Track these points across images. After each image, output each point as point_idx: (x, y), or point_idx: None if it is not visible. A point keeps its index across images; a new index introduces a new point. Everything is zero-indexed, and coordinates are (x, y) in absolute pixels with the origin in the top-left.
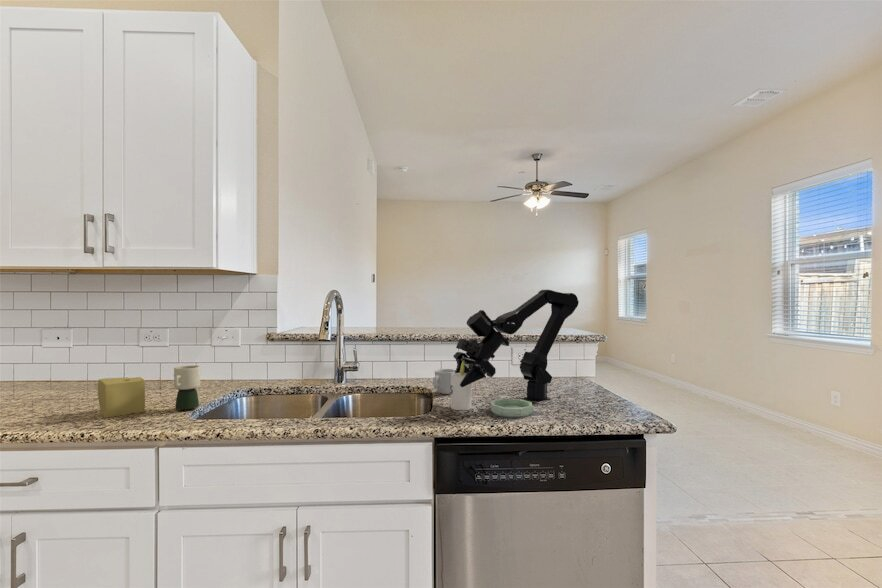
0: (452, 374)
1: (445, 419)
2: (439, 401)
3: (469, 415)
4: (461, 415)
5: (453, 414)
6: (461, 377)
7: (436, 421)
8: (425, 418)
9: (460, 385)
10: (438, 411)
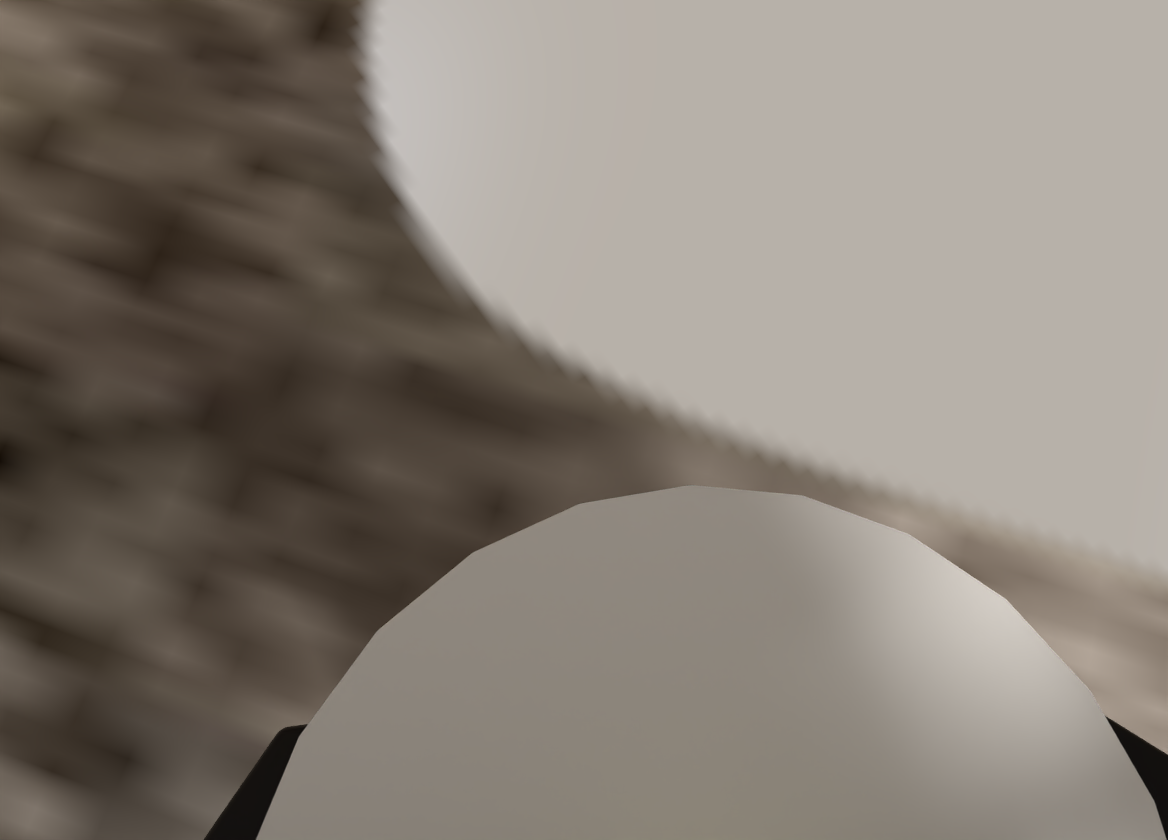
0: (859, 584)
1: (50, 327)
2: (1159, 582)
3: (100, 791)
4: (159, 649)
5: (272, 539)
6: (272, 816)
7: (10, 178)
8: (225, 90)
9: (291, 731)
10: (530, 369)
